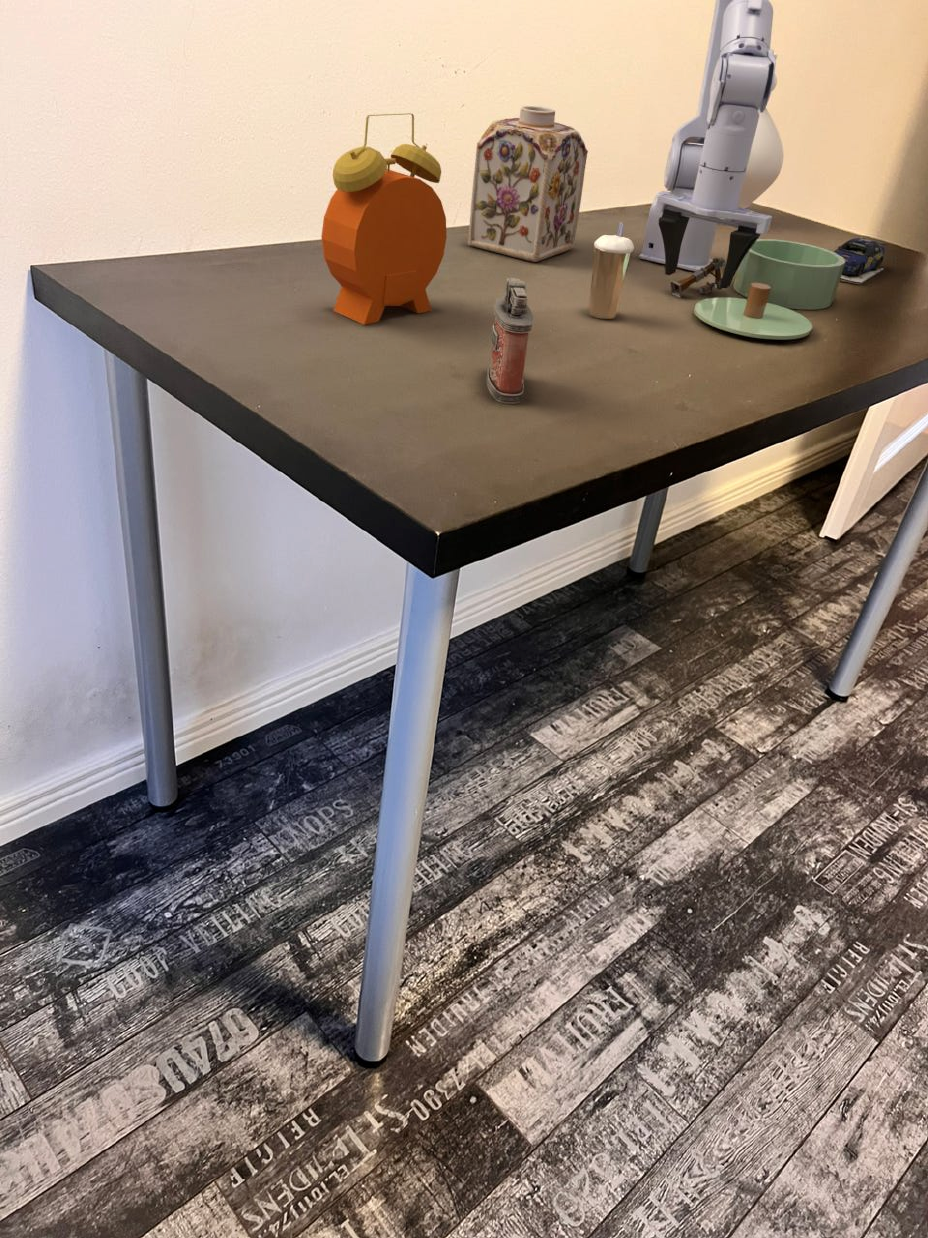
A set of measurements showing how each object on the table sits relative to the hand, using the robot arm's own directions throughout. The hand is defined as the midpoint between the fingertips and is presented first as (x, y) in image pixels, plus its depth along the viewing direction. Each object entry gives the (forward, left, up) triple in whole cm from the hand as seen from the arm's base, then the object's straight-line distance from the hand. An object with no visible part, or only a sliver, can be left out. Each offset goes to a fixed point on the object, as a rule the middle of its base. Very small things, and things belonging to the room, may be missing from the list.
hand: (697, 280), depth 125 cm
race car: (+13, +32, -2) cm, 34 cm away
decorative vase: (-15, +51, -2) cm, 53 cm away
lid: (+10, -7, -1) cm, 12 cm away
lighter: (-2, -47, -2) cm, 47 cm away
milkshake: (-5, -18, -2) cm, 19 cm away
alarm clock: (-24, -37, -2) cm, 44 cm away
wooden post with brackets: (0, 0, -2) cm, 2 cm away
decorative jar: (-27, +1, -2) cm, 27 cm away
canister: (+9, +10, -2) cm, 14 cm away
